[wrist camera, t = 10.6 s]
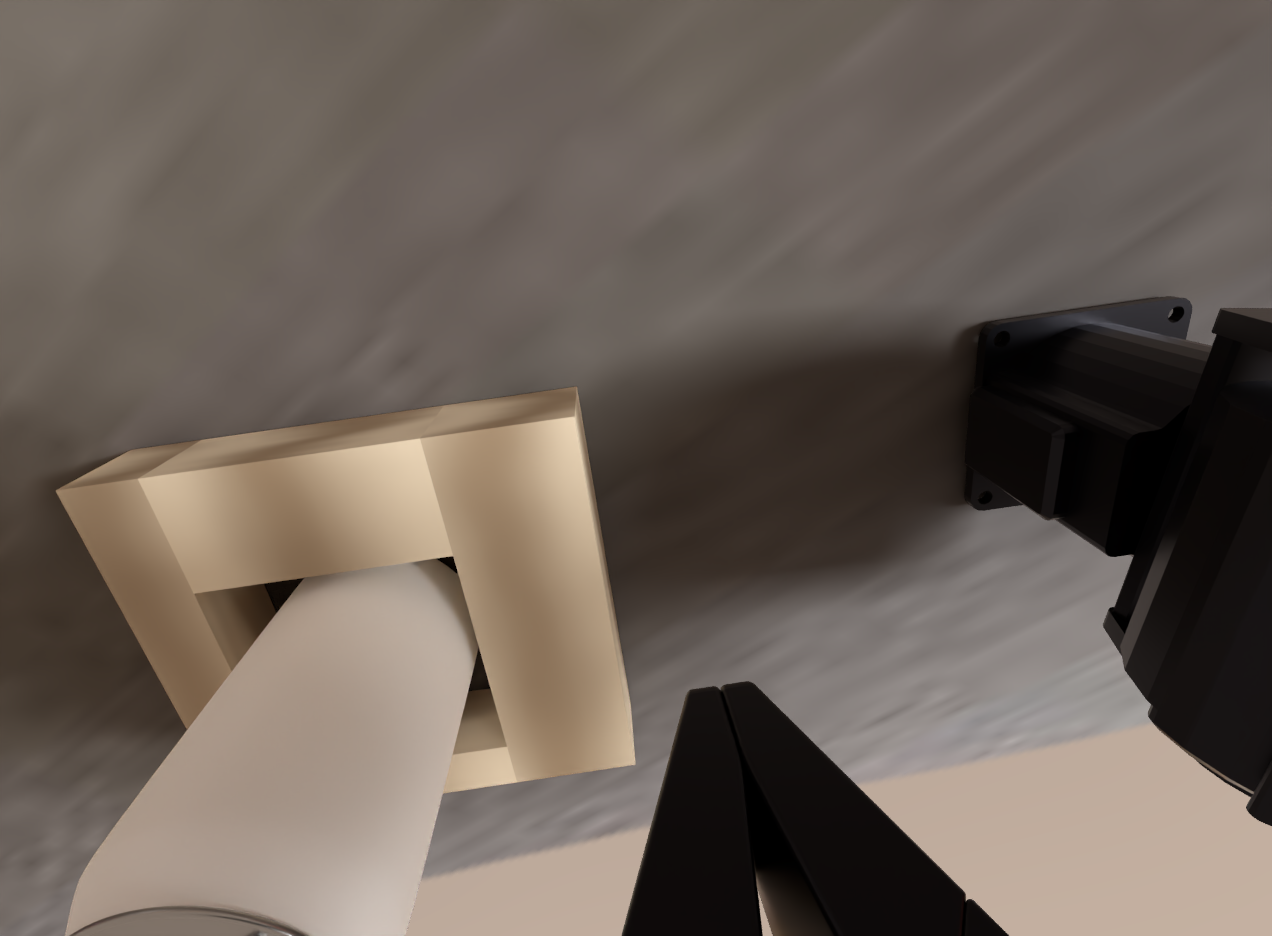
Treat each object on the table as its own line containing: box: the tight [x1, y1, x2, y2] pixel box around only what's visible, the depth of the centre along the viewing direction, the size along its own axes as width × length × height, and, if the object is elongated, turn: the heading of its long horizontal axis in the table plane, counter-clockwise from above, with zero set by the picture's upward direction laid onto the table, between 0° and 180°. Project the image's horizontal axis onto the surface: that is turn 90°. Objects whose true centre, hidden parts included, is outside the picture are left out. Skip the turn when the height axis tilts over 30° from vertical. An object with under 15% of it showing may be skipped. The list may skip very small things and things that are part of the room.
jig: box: [55, 387, 635, 793], centre depth 21 cm, size 14×13×3 cm
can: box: [65, 559, 479, 936], centre depth 17 cm, size 6×6×12 cm
